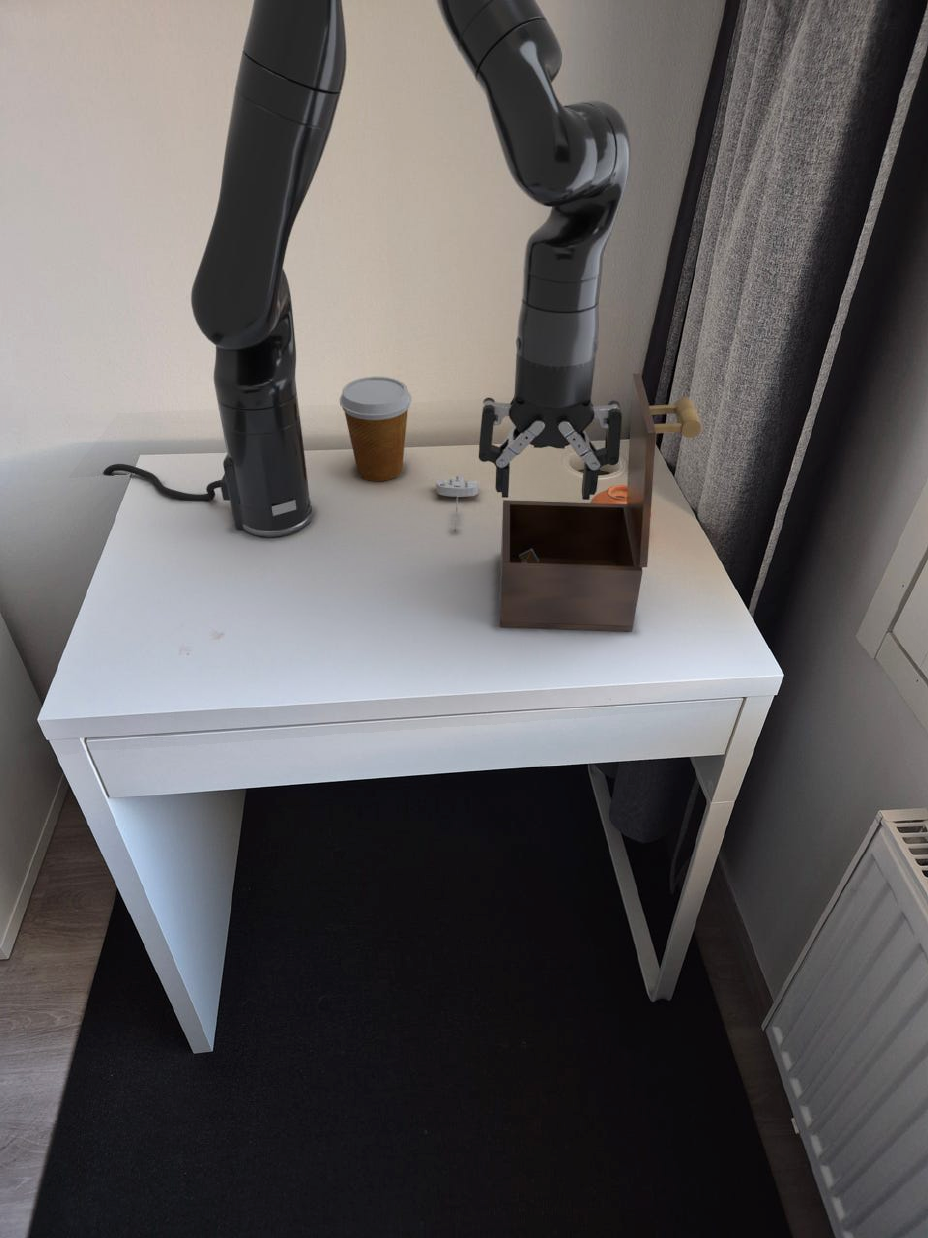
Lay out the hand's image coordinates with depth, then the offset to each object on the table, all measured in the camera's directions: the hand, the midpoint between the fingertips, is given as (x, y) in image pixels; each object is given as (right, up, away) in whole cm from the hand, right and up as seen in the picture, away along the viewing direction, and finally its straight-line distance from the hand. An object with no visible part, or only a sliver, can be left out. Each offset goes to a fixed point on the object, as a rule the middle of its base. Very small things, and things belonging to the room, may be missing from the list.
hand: (544, 495), depth 92 cm
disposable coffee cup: (-20, +8, +30) cm, 37 cm away
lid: (+9, +2, -2) cm, 10 cm away
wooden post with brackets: (0, -9, +8) cm, 12 cm away
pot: (+11, -2, +18) cm, 21 cm away
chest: (+3, -10, +8) cm, 13 cm away
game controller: (-10, +2, +23) cm, 25 cm away
